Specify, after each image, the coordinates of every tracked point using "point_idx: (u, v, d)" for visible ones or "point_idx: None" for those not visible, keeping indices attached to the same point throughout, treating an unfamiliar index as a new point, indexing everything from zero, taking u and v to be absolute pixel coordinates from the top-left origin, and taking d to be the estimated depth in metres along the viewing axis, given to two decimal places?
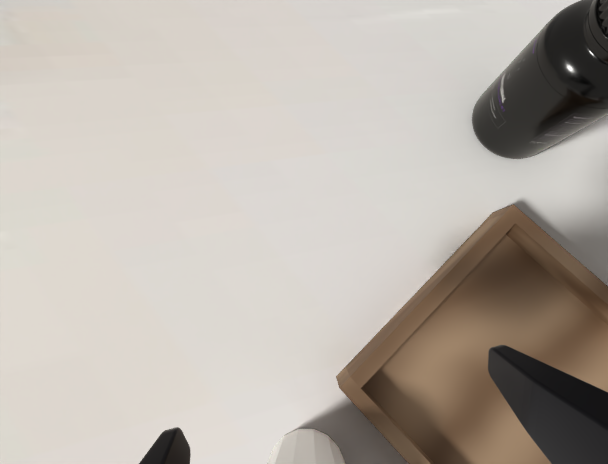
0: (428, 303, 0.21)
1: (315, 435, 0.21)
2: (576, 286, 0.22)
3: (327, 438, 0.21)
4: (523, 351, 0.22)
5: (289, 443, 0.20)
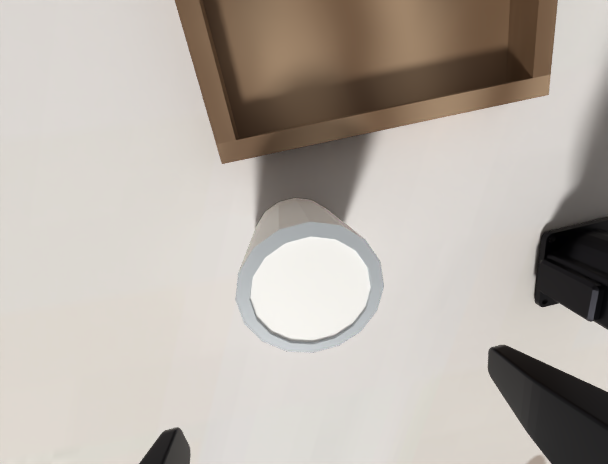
0: None
1: (264, 215, 0.18)
2: None
3: (277, 204, 0.18)
4: None
5: None
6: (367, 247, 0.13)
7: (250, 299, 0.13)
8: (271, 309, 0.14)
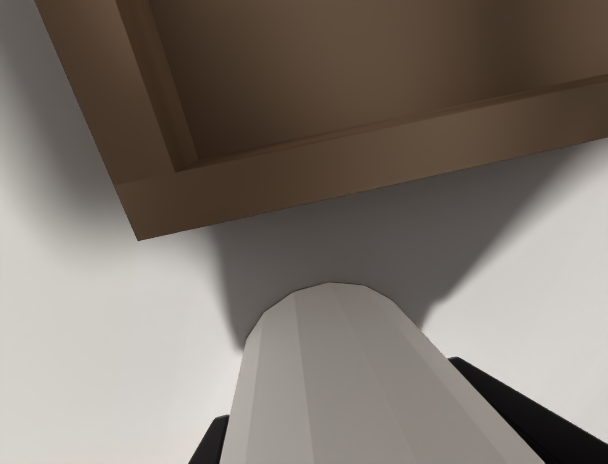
0: None
1: (263, 335, 0.08)
2: None
3: (292, 304, 0.08)
4: None
5: None
6: None
7: None
8: None
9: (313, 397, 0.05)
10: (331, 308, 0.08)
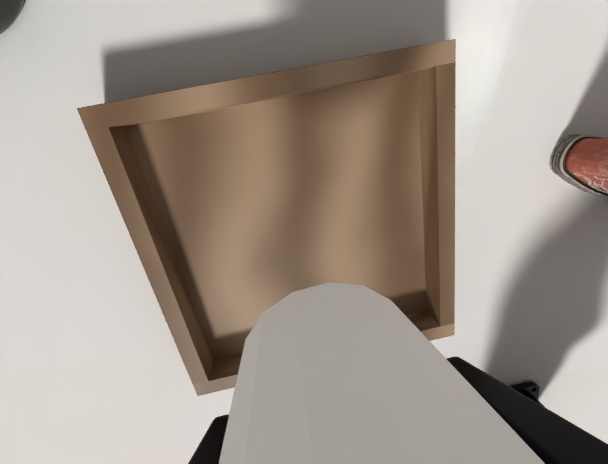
0: (160, 288, 0.17)
1: (262, 335, 0.08)
2: (242, 103, 0.15)
3: (291, 304, 0.08)
4: (280, 205, 0.18)
5: None
6: None
7: None
8: None
9: (312, 397, 0.05)
10: (330, 308, 0.08)
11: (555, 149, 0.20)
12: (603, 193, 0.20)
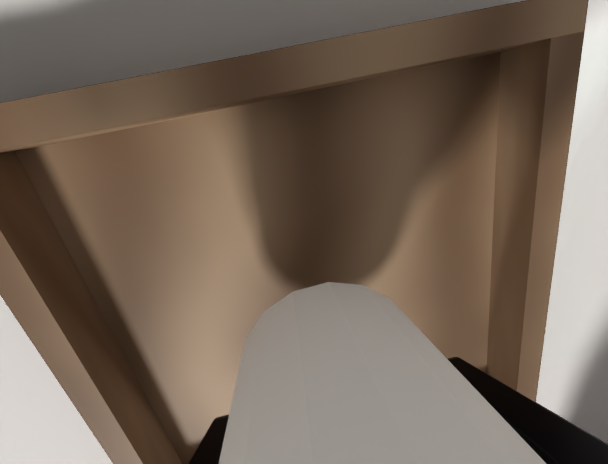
0: (89, 407, 0.11)
1: (262, 334, 0.08)
2: (208, 109, 0.09)
3: (292, 304, 0.08)
4: (279, 264, 0.12)
5: None
6: None
7: None
8: None
9: (312, 397, 0.05)
10: (330, 308, 0.08)
11: None
12: None
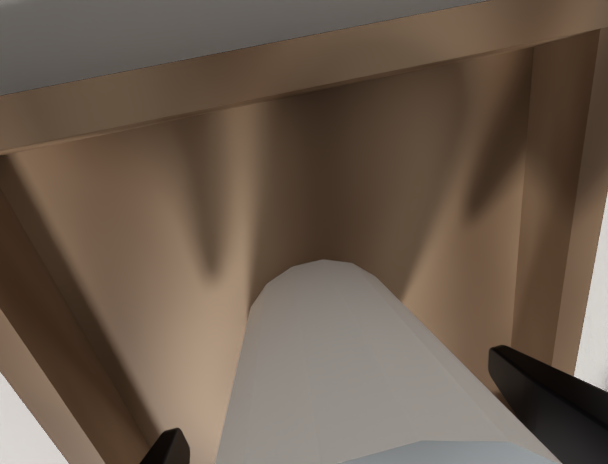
0: (71, 445, 0.09)
1: (266, 299, 0.09)
2: (203, 111, 0.07)
3: (291, 275, 0.10)
4: None
5: None
6: None
7: None
8: None
9: (307, 332, 0.07)
10: (323, 277, 0.09)
11: None
12: None
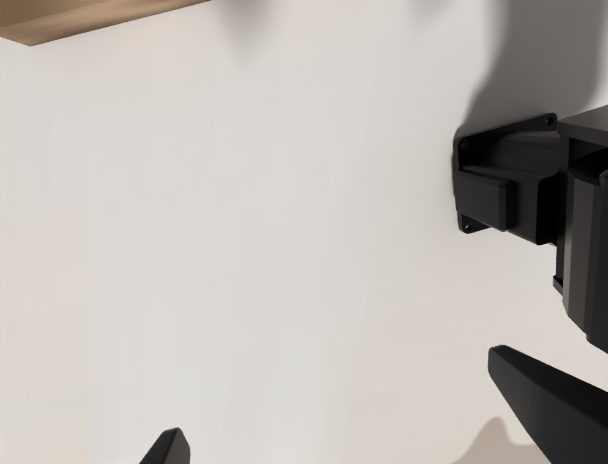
0: None
1: None
2: None
3: None
4: None
5: None
6: None
7: None
8: None
9: None
10: None
11: None
12: None
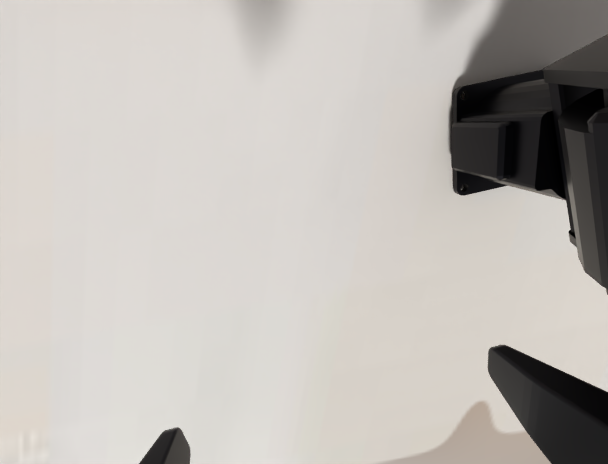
0: None
1: None
2: None
3: None
4: None
5: None
6: None
7: None
8: None
9: None
10: None
11: None
12: None
